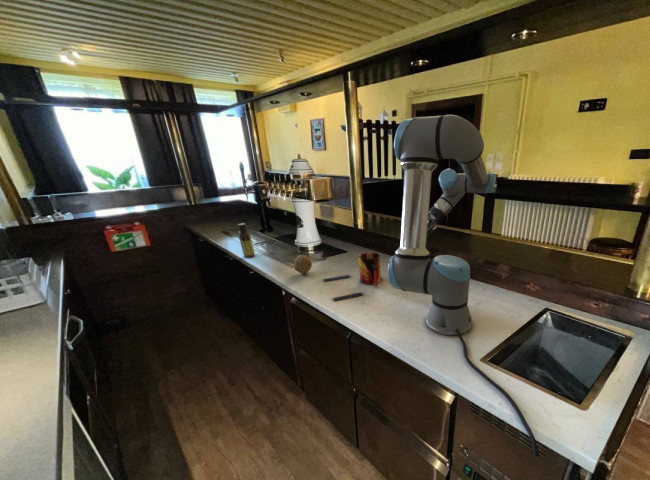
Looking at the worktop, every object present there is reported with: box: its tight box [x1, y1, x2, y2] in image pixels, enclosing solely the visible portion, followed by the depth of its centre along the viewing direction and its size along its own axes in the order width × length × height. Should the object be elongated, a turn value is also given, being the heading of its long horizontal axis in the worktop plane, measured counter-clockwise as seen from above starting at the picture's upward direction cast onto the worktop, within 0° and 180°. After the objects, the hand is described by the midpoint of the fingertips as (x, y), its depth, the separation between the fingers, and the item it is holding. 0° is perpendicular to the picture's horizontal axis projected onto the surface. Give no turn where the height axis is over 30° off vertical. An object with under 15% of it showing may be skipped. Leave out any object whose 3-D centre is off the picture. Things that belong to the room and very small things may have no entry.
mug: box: [357, 252, 382, 287], centre depth 137 cm, size 10×14×12 cm
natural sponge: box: [293, 254, 313, 275], centre depth 150 cm, size 9×9×10 cm
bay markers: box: [323, 274, 363, 302], centre depth 136 cm, size 24×12×1 cm, turn 20°
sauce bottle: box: [237, 222, 256, 258], centre depth 178 cm, size 6×6×20 cm
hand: (406, 251), depth 140 cm, fingers closed
